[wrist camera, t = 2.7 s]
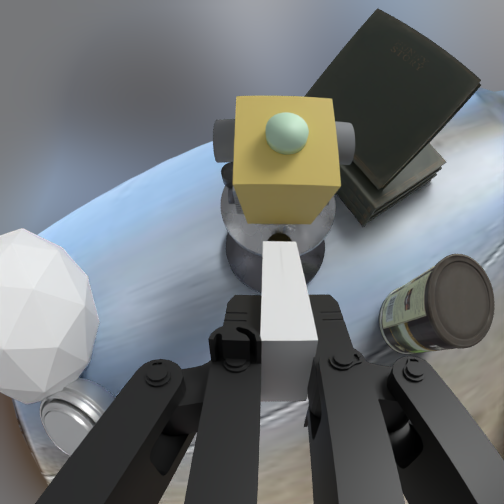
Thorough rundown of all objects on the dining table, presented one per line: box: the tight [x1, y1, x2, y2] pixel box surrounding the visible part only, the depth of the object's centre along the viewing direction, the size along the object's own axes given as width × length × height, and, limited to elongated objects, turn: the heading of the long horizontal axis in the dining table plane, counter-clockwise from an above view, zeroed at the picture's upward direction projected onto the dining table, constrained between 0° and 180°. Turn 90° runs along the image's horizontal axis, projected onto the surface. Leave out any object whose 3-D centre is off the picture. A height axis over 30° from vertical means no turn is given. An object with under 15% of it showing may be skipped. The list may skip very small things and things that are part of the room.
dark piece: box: [304, 9, 481, 227], centre depth 36 cm, size 23×20×25 cm
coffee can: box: [379, 254, 494, 354], centre depth 30 cm, size 10×10×14 cm
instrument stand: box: [221, 162, 336, 293], centre depth 34 cm, size 14×14×17 cm
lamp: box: [0, 228, 115, 456], centre depth 28 cm, size 22×34×24 cm, turn 29°
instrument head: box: [213, 96, 355, 224], centre depth 21 cm, size 6×9×13 cm, turn 88°
